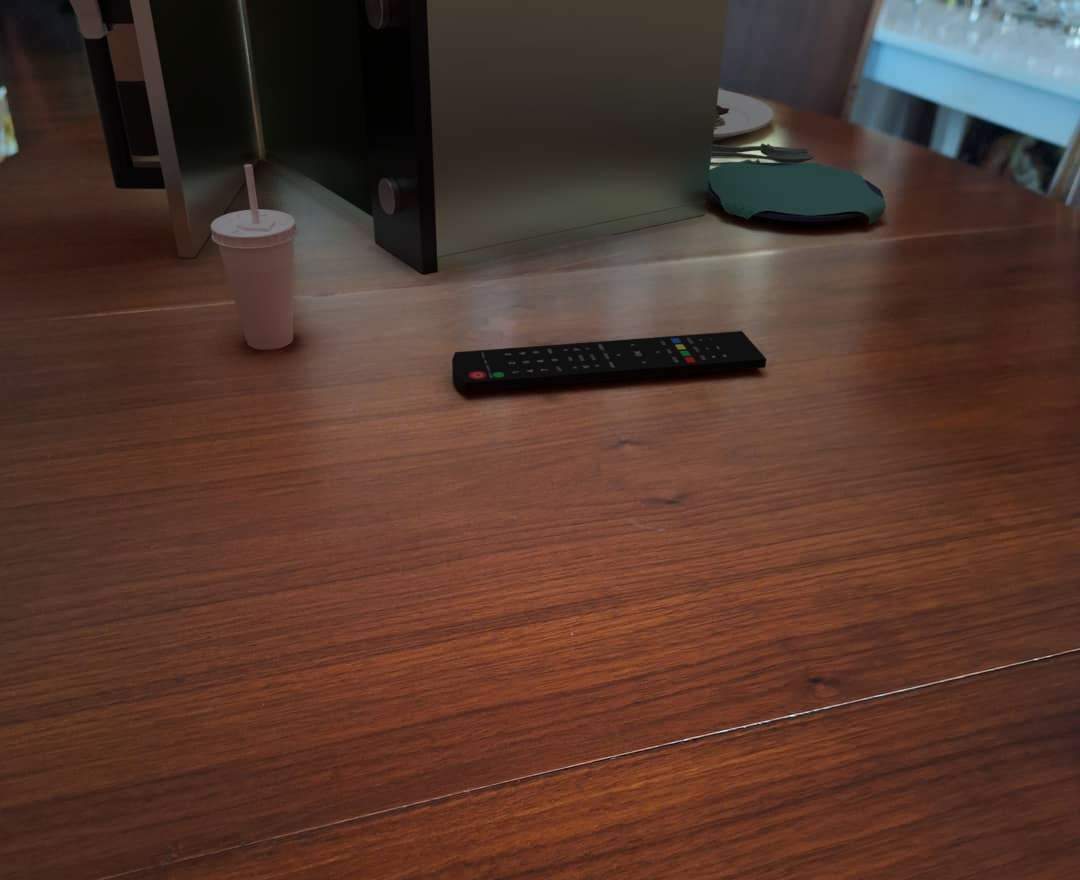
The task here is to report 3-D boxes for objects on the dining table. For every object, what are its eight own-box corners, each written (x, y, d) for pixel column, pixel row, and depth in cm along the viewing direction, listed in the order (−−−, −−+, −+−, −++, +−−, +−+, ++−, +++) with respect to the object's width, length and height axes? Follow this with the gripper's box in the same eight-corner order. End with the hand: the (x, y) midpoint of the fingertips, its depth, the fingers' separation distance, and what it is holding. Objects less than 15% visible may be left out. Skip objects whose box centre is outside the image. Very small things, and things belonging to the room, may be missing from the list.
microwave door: (119, 257, 98) (43, -82, 82) (201, 158, 126) (156, -111, 110) (195, 257, 99) (134, -80, 83) (260, 159, 126) (223, -109, 110)
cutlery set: (713, 234, 107) (716, 212, 106) (676, 154, 131) (678, 135, 130) (904, 236, 108) (909, 214, 106) (831, 156, 132) (835, 137, 131)
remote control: (764, 375, 81) (766, 359, 80) (458, 400, 76) (457, 383, 76) (739, 346, 85) (741, 330, 84) (448, 368, 81) (447, 352, 80)
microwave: (415, 278, 96) (396, -72, 80) (243, 162, 125) (203, -111, 109) (705, 214, 112) (738, -87, 96) (492, 125, 142) (490, -117, 126)
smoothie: (251, 364, 81) (223, 181, 73) (215, 336, 85) (184, 160, 77) (324, 343, 84) (305, 166, 76) (286, 317, 88) (264, 147, 80)
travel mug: (169, 137, 134) (136, -39, 122) (194, 150, 129) (163, -32, 117) (110, 147, 130) (71, -35, 118) (134, 161, 125) (96, -27, 113)
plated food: (774, 157, 131) (778, 129, 129) (541, 143, 135) (541, 115, 133) (769, 102, 156) (772, 78, 154) (571, 92, 159) (572, 68, 157)
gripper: (62, -163, 90) (99, 13, 98) (-30, -155, 74) (23, 56, 82) (136, -162, 91) (167, 14, 99) (61, -154, 74) (105, 56, 82)
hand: (101, 33), depth 90 cm, fingers closed on microwave door, 2 cm apart
